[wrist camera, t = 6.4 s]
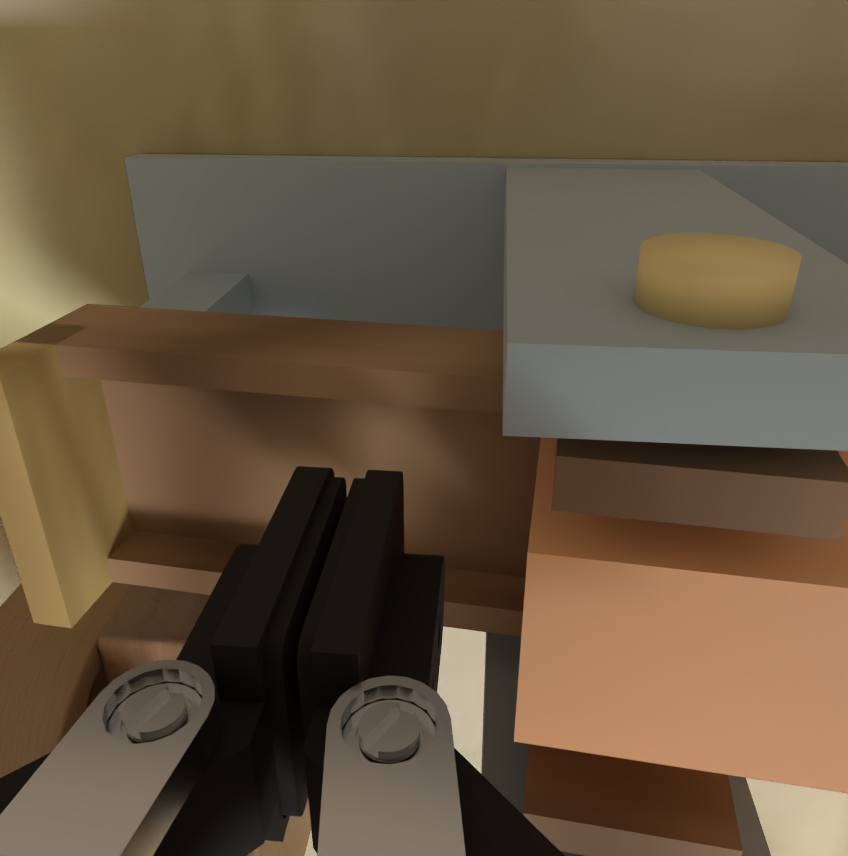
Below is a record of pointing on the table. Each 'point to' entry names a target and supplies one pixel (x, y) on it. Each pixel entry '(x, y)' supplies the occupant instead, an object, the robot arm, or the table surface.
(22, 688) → the wooden toy
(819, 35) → the table surface
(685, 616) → the block
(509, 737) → the stand
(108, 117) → the table surface
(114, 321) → the beam
